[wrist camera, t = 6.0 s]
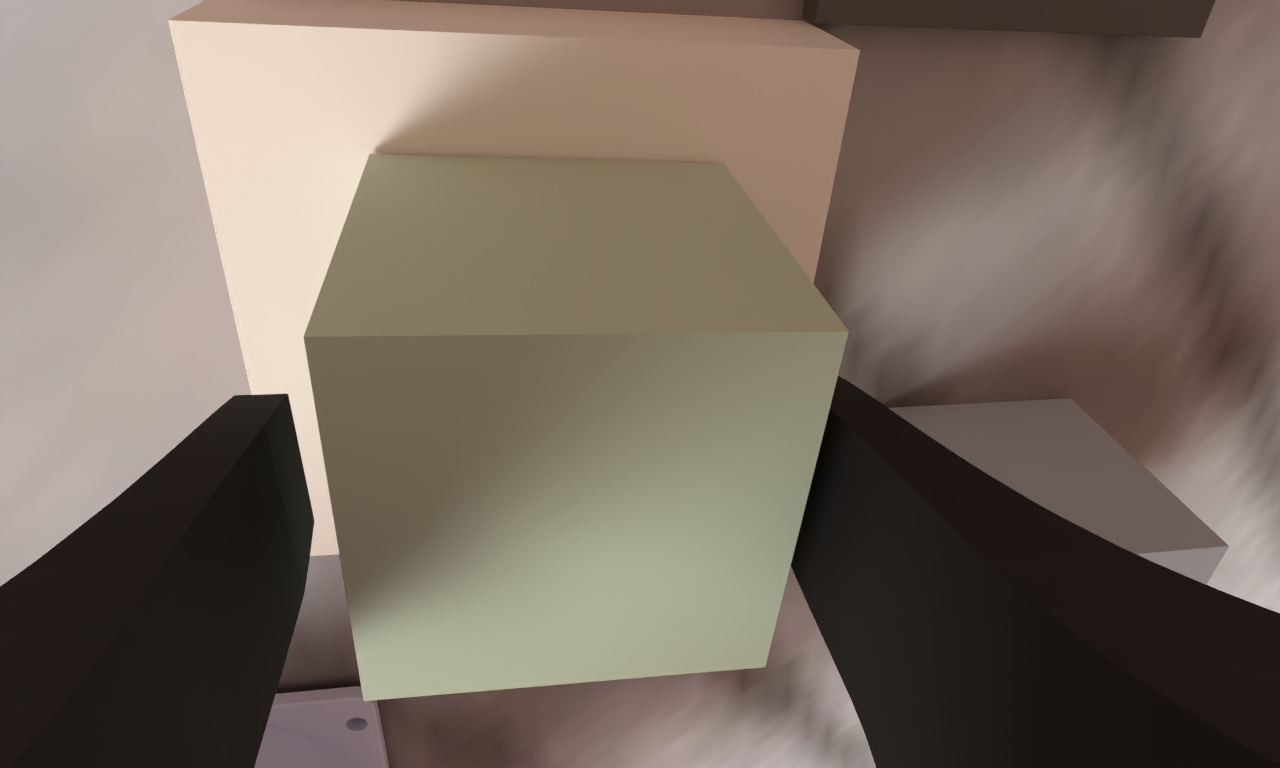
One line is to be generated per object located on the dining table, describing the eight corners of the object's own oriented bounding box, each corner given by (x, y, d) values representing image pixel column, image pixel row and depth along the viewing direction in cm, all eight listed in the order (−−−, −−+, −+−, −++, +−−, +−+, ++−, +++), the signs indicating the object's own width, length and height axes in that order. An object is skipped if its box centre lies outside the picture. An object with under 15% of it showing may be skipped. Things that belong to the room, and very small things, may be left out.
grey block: (1006, 551, 22) (1128, 715, 18) (829, 567, 21) (913, 741, 17) (1068, 396, 19) (1228, 546, 15) (867, 406, 18) (979, 568, 14)
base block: (727, 439, 19) (764, 528, 16) (315, 455, 17) (287, 557, 15) (792, 14, 14) (860, 49, 12) (230, -13, 12) (167, 20, 10)
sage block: (686, 436, 15) (764, 666, 11) (399, 445, 14) (364, 701, 10) (723, 163, 12) (848, 331, 8) (369, 153, 11) (303, 336, 7)
